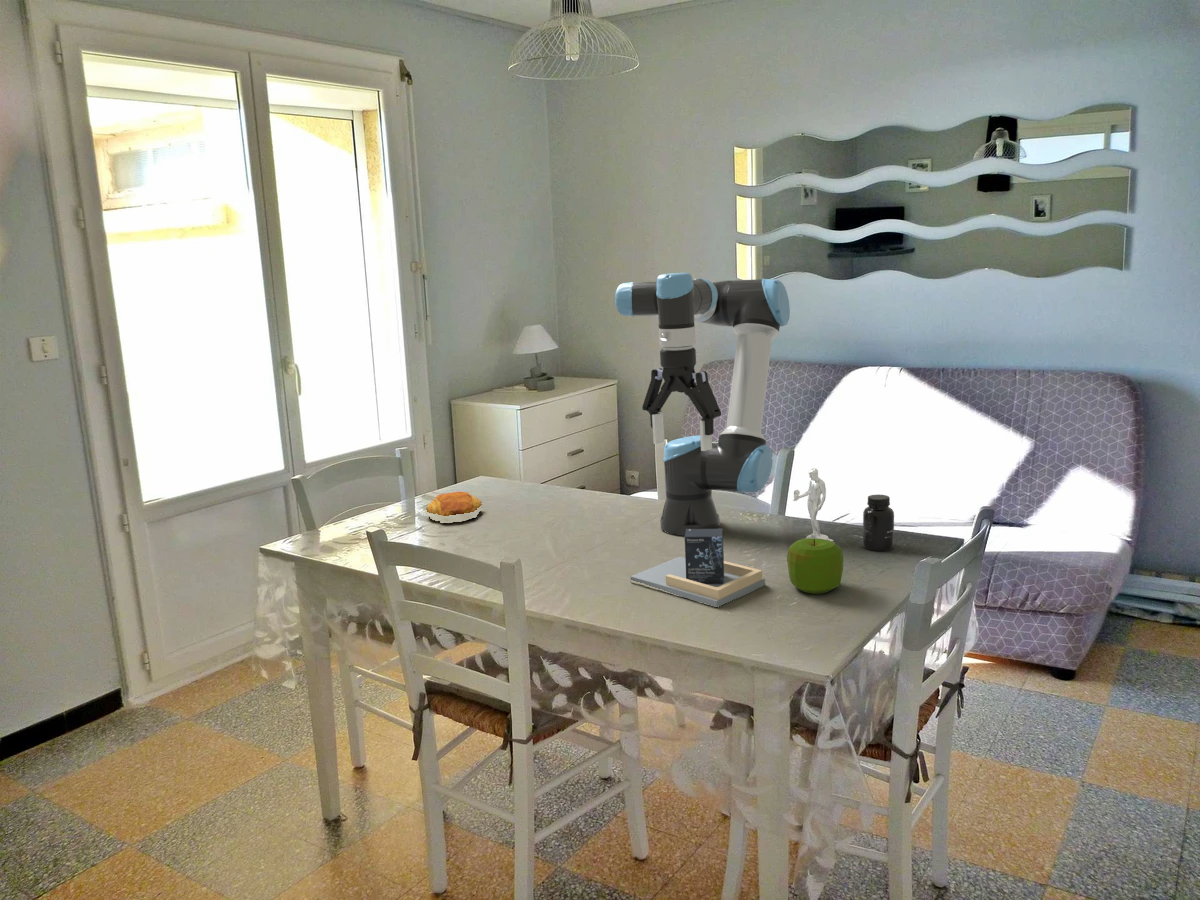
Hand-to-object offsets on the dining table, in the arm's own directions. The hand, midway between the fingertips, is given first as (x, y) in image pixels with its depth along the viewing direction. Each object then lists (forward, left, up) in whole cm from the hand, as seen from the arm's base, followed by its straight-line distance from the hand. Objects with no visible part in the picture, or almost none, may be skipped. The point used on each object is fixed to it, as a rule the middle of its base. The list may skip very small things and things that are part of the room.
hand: (682, 446), depth 205 cm
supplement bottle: (+24, +39, -29) cm, 54 cm away
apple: (+27, +9, -29) cm, 41 cm away
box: (+9, -4, -27) cm, 29 cm away
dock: (+6, -4, -29) cm, 30 cm away
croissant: (-83, -4, -29) cm, 88 cm away
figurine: (+10, +34, -29) cm, 46 cm away
